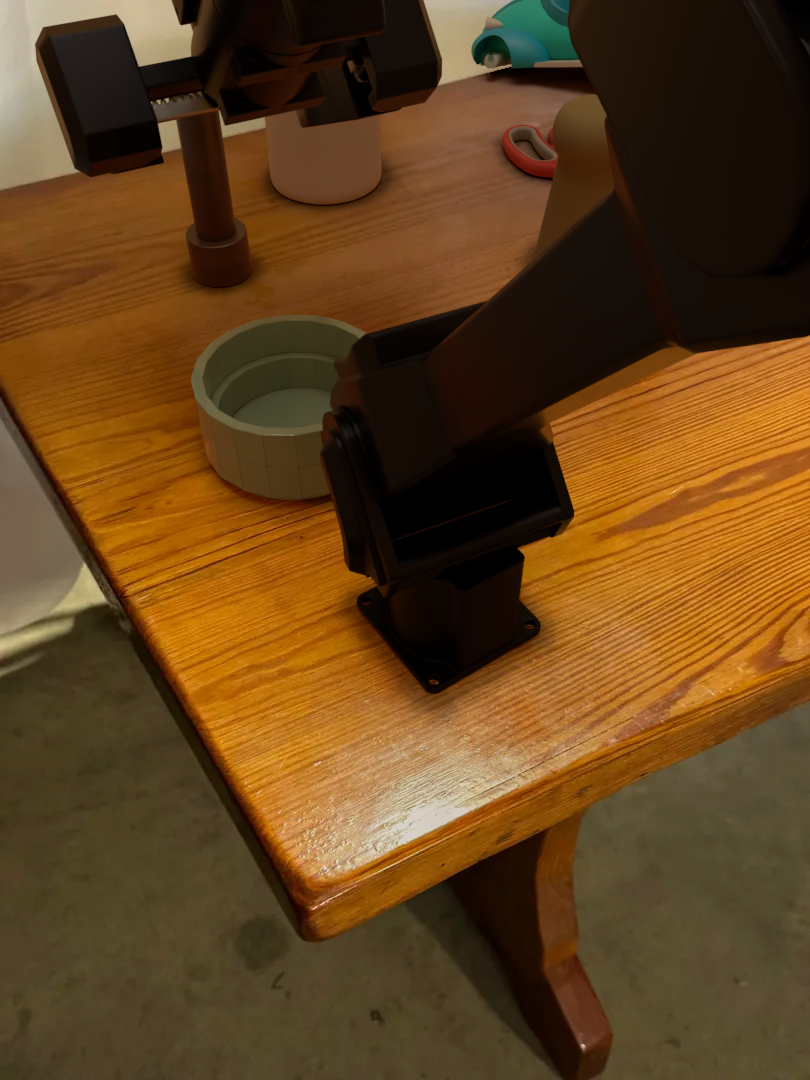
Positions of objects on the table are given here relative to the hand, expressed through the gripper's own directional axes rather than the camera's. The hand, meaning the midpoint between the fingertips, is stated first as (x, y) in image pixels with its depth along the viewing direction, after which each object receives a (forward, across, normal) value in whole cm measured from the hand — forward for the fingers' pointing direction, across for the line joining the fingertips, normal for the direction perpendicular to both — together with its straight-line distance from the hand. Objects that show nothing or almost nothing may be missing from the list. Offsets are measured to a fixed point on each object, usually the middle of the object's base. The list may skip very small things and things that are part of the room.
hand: (225, 135), depth 56 cm
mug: (+19, -13, -2) cm, 23 cm away
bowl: (-1, +2, +18) cm, 18 cm away
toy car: (+23, -39, -8) cm, 46 cm away
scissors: (+9, -28, +5) cm, 30 cm away
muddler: (+12, 0, +4) cm, 13 cm away
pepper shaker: (+5, -22, +12) cm, 25 cm away
